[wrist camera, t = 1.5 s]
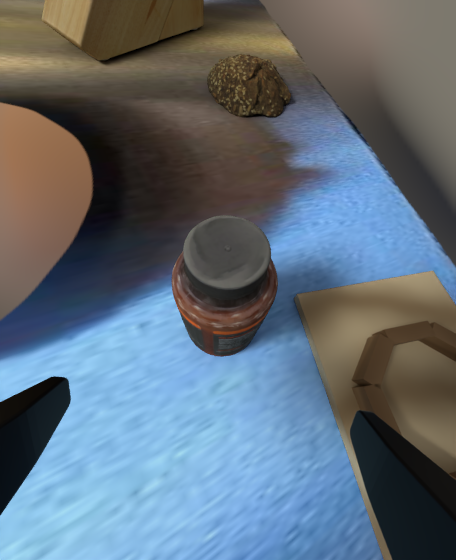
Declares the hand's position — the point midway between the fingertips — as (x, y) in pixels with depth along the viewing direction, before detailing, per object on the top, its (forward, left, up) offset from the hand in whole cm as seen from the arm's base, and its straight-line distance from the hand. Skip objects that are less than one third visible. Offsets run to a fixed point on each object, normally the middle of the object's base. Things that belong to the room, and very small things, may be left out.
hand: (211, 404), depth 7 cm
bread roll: (+41, -13, -12) cm, 45 cm away
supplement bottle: (+6, -2, -12) cm, 13 cm away
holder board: (-3, -16, -12) cm, 20 cm away
